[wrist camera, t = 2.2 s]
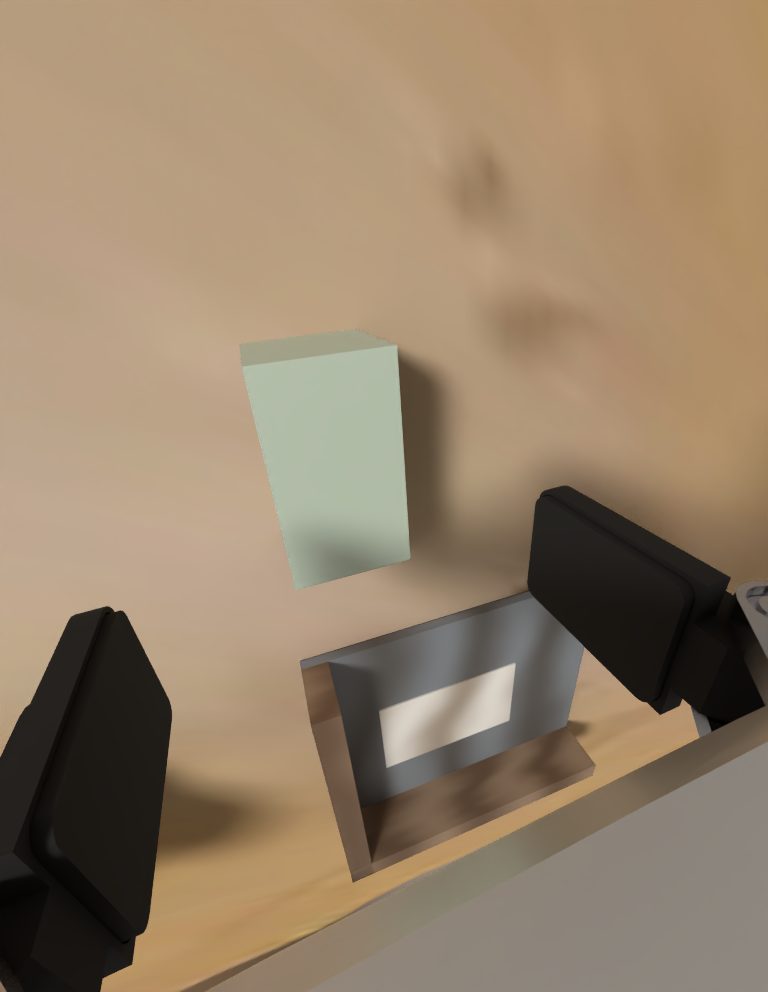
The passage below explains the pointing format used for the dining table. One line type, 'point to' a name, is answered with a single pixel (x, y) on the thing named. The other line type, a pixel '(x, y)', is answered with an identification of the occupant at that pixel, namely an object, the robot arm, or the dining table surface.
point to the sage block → (332, 450)
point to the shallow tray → (444, 727)
